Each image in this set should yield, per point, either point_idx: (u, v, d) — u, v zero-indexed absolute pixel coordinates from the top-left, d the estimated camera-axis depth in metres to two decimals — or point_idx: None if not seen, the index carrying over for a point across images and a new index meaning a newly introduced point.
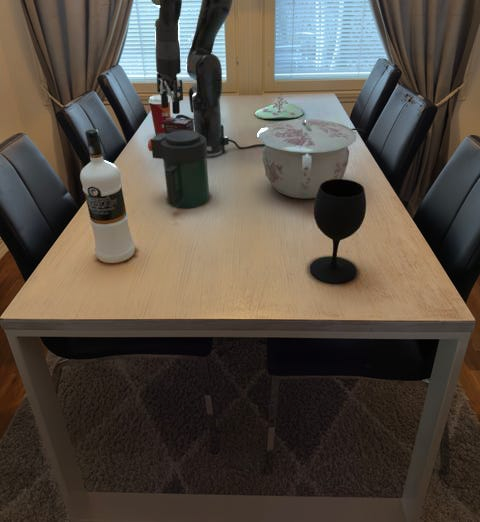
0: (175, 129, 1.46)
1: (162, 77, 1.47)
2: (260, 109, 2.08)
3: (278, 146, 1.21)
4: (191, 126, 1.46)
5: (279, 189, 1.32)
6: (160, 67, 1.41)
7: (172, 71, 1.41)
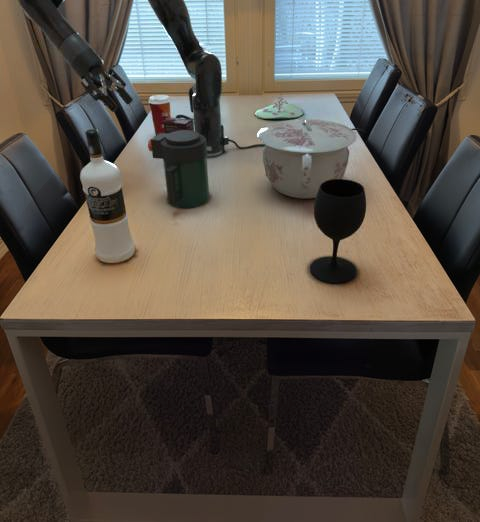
0: (175, 129, 1.46)
1: None
2: (260, 109, 2.08)
3: (278, 146, 1.21)
4: (191, 126, 1.46)
5: (279, 189, 1.32)
6: None
7: (81, 71, 1.22)
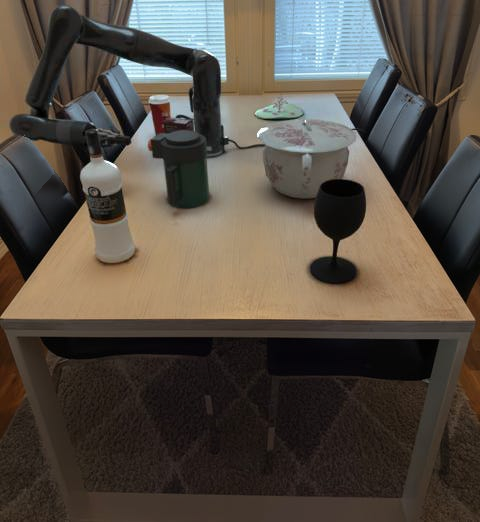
0: (175, 129, 1.46)
1: None
2: (260, 109, 2.08)
3: (278, 146, 1.21)
4: (191, 126, 1.46)
5: (279, 189, 1.32)
6: None
7: (80, 141, 1.31)
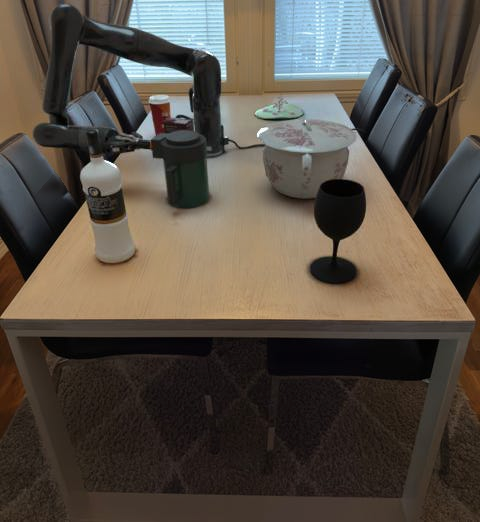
0: (175, 129, 1.46)
1: None
2: (260, 109, 2.08)
3: (278, 146, 1.21)
4: (191, 126, 1.46)
5: (279, 189, 1.32)
6: None
7: (102, 147, 1.30)
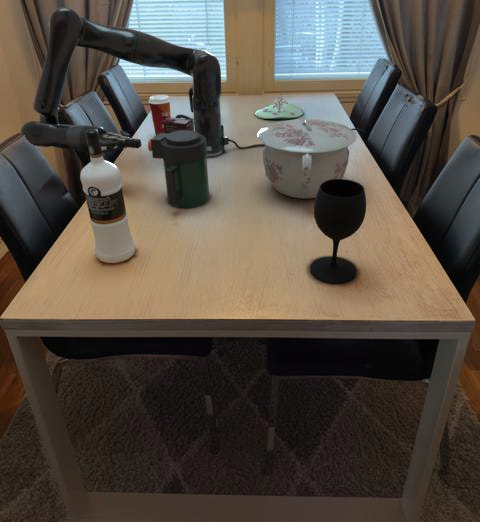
0: (175, 129, 1.46)
1: None
2: (260, 109, 2.08)
3: (278, 146, 1.21)
4: (191, 126, 1.46)
5: (279, 189, 1.32)
6: None
7: None
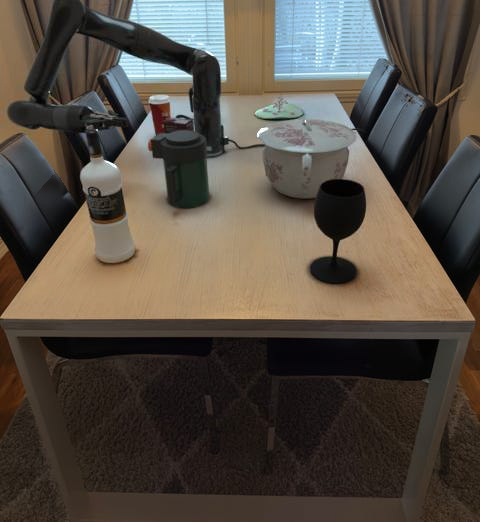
0: (175, 129, 1.46)
1: None
2: (260, 109, 2.08)
3: (278, 146, 1.21)
4: (191, 126, 1.46)
5: (279, 189, 1.32)
6: (81, 132, 1.33)
7: (77, 125, 1.29)
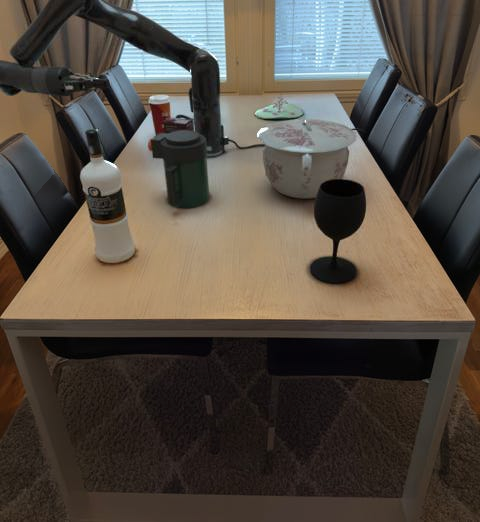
0: (175, 129, 1.46)
1: None
2: (260, 109, 2.08)
3: (278, 146, 1.21)
4: (191, 126, 1.46)
5: (279, 189, 1.32)
6: (61, 95, 1.29)
7: (56, 86, 1.26)
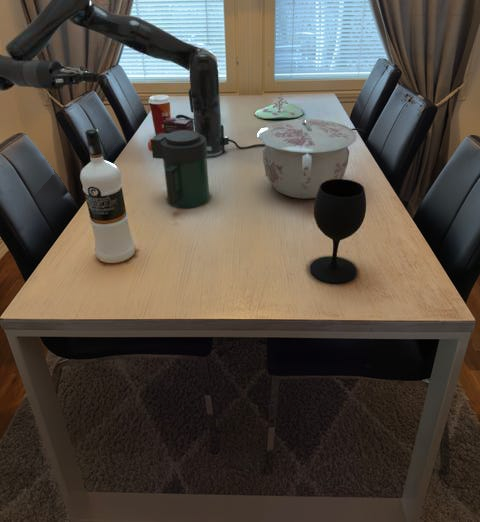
0: (175, 129, 1.46)
1: None
2: (260, 109, 2.08)
3: (278, 146, 1.21)
4: (191, 126, 1.46)
5: (279, 189, 1.32)
6: None
7: (47, 80, 1.27)
